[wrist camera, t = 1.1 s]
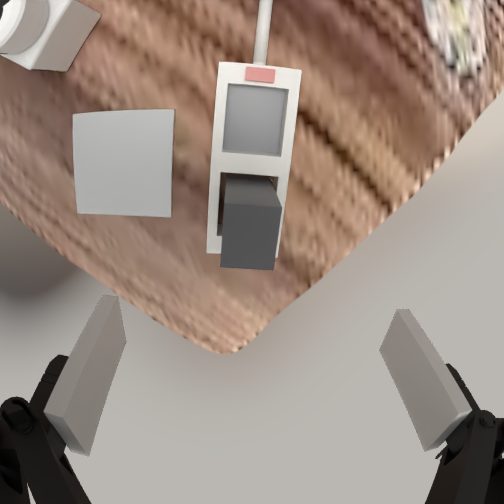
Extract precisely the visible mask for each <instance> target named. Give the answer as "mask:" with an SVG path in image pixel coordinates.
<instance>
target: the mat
mask: <svg viewBox="0 0 504 504" xmlns="http://www.w3.org/2000/svg"><path fill="white" fill-rule="evenodd" d="M174 119H175V109H149V110H119V111H102V112H90V113H79V114H73V161H74V179H75V193H76V204H77V214H105V215H131V216H153V217H171V216H172V163H173V137H174Z"/></svg>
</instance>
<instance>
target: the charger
mask: <svg viewBox="0 0 504 504" xmlns="http://www.w3.org/2000/svg"><path fill="white" fill-rule="evenodd" d="M281 213H282V206H281V203H280V201H279V199H278V196H277V194H276V192H275V190H274V187H273V185H272V183H271V180H270V178H269V176H266V175H255V174H242V173H228V172H227V181H226V190H225V200H224V213H223V228H222V245H221V262H220V267H227V268H243V269H261V270H273V269H274V262H275V255H276V249H277V242H278V235H279V227H280V220H281Z"/></svg>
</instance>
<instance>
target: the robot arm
mask: <svg viewBox="0 0 504 504" xmlns="http://www.w3.org/2000/svg"><path fill="white" fill-rule="evenodd" d="M125 344H126V337H125V332H124V327H123V321H122V316H121V310H120V305H119V298H118V296H109V295H103V296H102V297H101V299H100V301H99V303H98V305H97V306H96V308H95V310H94V312H93V313H92V315H91V317H90V319H89V320H88V322H87V324H86V326H85V328H84V330H83V331H82V333H81V335H80V337H79V339H78V341H77V343H76V345H75V347H74V348H73V350H72V352H71V354H70V356H69V357H68V356H64V355H57V356H56V357H55V358H54V359H53V360H52V361H51V362H50V363H49V365H48V367H47V369H46V371H45V374H43V376H42V378H41V382H39V384H38V386H37V388H36V390H35V392H34V394H33V397H32V398H31V400H30V403H28V401H26V400H25V399H23V398H21V397H11V398H9V399H7V400H5V401H4V403H3V404H2V405H1V407H0V504H30V498H29V493H28V487H27V483H28V486H29V488H30V491H31V493H32V496H33V498H34V500H35V502H36V504H91V502H90V501H89V499H88V497H87V495H86V493H85V492H84V490H83V488H82V486H81V485H80V482H79V481H78V479H77V477H76V475H75V473H74V471H73V469H72V467H71V465H70V463H69V461H68V459H67V457H66V455H65V453H64V450H65V447H66V445H67V447H68V448H69V449H70V451H71V452H75V453H78V454H82V455H86V456H89V455H90V451H91V447H92V444H93V441H94V437H95V434H96V430H97V427H98V424H99V420H100V417H101V414H102V411H103V408H104V405H105V401H106V398H107V395H108V392H109V389H110V386H111V383H112V380H113V378H114V375H115V372H116V369H117V366H118V363H119V361H120V358H121V355H122V352H123V350H124V347H125ZM379 351H380V353H381V354H382V357H383V359H384V361H385V363H386V365H387V367H388V369H389V371H390V374H391V376H392V378H393V380H394V382H395V384H396V387H397V389H398V391H399V393H400V395H401V397H402V400H403V401H404V404H405V406H406V408H407V411H408V413H409V415H410V418H411V420H412V422H413V425H414V427H415V429H416V432H417V434H418V436H419V439H420V441H421V444H422V446H423V449H424V451H429V450H432V449H435V448H438V447H439V446H440V445H441V444H442V443H443V442H444V441H445V440H446V442H447V446H446V447H445V448H444V449H443V450H442V451H441V452H440V453H439V454H438V455H437V456H436V458H435V459H438V458H439V457H440V456H441V455H442V458H441V459H440V464H439V467H438V470H437V473H436V476H435V479H434V481H433V484H432V487H431V489H430V492H429V495H428V497H427V500H426V502H425V504H504V458H502V453H503V452H504V418H495V416H494V415H493V414H492V413H491V412H489V411H486V410H480V408H479V407H478V405H477V403H476V402H475V400H474V398H473V397H472V395H471V393H470V391H469V390H468V388H467V387H466V386H465V383H464V381H463V380H461V379H462V378H461V377H460V375H459V373H458V372H457V370H456V369H454V368H453V367H452V366H451V365H450V364H445V363H444V361H443V360H442V358H441V357H440V355H439V354H438V352H437V351H436V349H435V347H434V346H433V344H432V343H431V341H430V340H429V338H428V337H427V335H426V334H425V332H424V331H423V329H422V328H421V326H420V325H419V323H418V322H417V320H416V319H415V317H414V316H413V315H412V313H411V312H410V310H409V309H402V310H401V309H399V310H396V313H395V315H394V317H393V320H392V322H391V325H390V327H389V329H388V332H387V334H386V336H385V339H384V341H383V343H382V345H381V347H380V350H379Z"/></svg>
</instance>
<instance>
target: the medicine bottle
mask: <svg viewBox="0 0 504 504" xmlns="http://www.w3.org/2000/svg"><path fill="white" fill-rule="evenodd" d="M100 17H101V14H100V13H98V12H96V11H95V10H93V9H91V8H89V7H87V6H85V5H83V4H82V3H80V2H78V1H76V0H0V55H2V56H4V57H6V58H8V59H10V60H12V61H14V62H15V63H17V64H19V65H21V66H23V67H25V68H27V69H29V70H43V71H58V72H66V71H67V70H68V69H69V67H70V65H71V63H72V62H73V60H74V58H75V56H76V55H77V53H78V51H79V50H80V48H81V46H82V45H83V43H84V41H85V40H86V38H87V37H88V35H89V33H90V32H91V30H92V29H93V27H94V26H95V24H96V23H97V21H98V20H99V18H100Z"/></svg>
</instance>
